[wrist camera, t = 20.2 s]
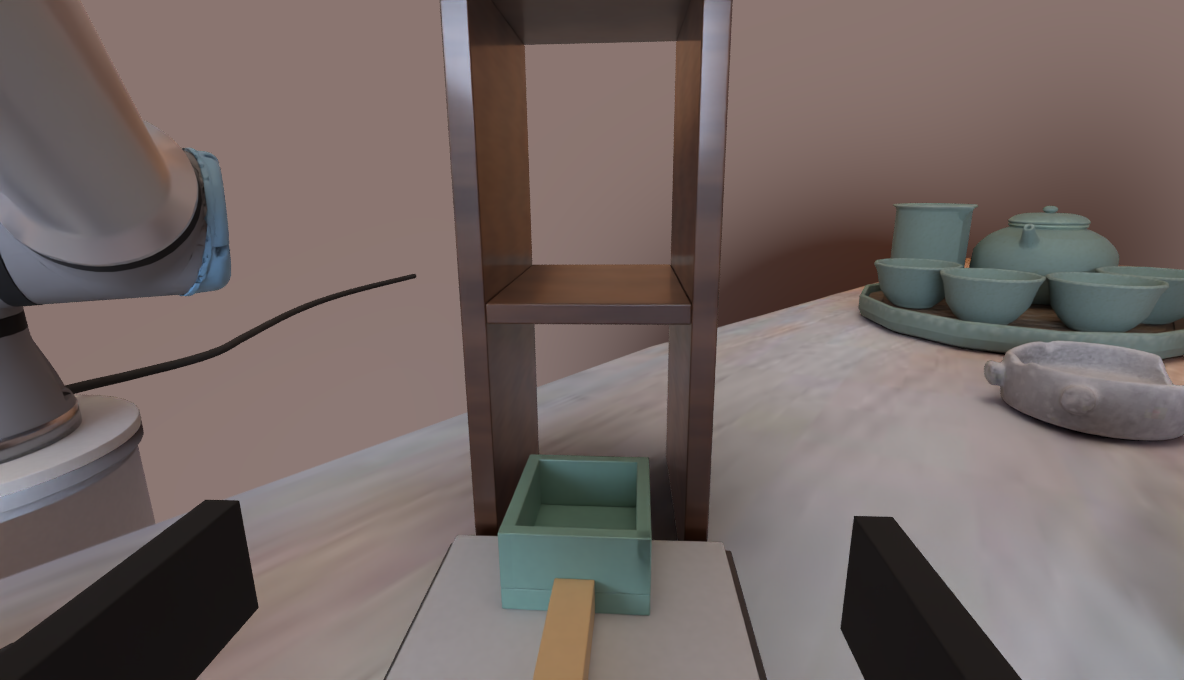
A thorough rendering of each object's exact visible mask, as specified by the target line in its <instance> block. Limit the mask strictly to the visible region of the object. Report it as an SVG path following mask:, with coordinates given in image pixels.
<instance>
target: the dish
mask: <svg viewBox="0 0 1184 680" xmlns="http://www.w3.org/2000/svg"><path fill="white" fill-rule="evenodd" d="M984 374H985V377H986V379H987V381H988V382H989V383H990V384H991V385H998V386H1000V394H1001V396H1002V399H1003V400H1004V401H1005V402H1006V403H1007V404H1009V405H1010V406H1011V407H1013V408H1015V409H1016V410H1018V411H1020V412H1023V413H1025V414H1027V415H1029V416H1032V417H1034V418H1037V419H1040V420H1042V421H1045V422H1048V423H1051V424H1054V425H1057V426H1061V427H1064V428H1067V429H1071V430H1076V431H1080V432H1084V433H1089V434H1094V435H1100V436H1106V437H1113V438H1121V439H1132V440H1167V439H1173V438H1177V437H1179V436H1182V435H1183V434H1184V385H1182V386H1180V385H1173V383H1172V381H1171V380H1170V378H1169V376H1168V374H1167V372H1166V369H1165V366H1164V364H1163V362H1162V359H1161V357H1160V356H1158V355H1156V354H1152V353H1148V352H1144V351H1139V350H1135V349H1130V348H1124V347H1119V346H1112V345H1104V344H1096V343H1085V342H1073V341H1052V342H1049V343H1045V342H1031V343H1026V344H1023V345H1020V346H1017V347H1014V348H1012V349H1010V350H1008V351H1007V352H1006V354H1005V356H1004V358H1003V360H1002V361H1001V362H995V361H988V362H987V363H986V364H985V366H984Z"/></svg>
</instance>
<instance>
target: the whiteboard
mask: <svg viewBox="0 0 1184 680" xmlns="http://www.w3.org/2000/svg"><path fill="white" fill-rule="evenodd" d="M546 615H547V611H542V610H522V609H503V608H502V601H501V585H500V568H499V550H498V536H475V535H457V536H456V538H455V540H454V542H453V543H452V544H451V545H450V547H449V549H448V551H447V553H446V555H445V557H444V559H443V561H442V563H441V565H440V567H439V569H438V571H437V573H436V575H435V577H434V579H433V581H432V583H431V585H430V587H429V589H428V591H427V593H426V595H425V597H424V599H423V601H422V603H421V605H420V607H419V609H418V611H417V613H416V615H415V617H414V619H413V621H412V623H411V625H410V627H409V629H408V631H407V633H406V635H405V637H404V639H403V642H402V644H401V646H400V648H399V650H398V652H397V654H396V656H395V658H394V660H393V662H392V664H391V666H390V668H389V670H388V672H387V674H386V676H385V678H384V680H532V679H533V675H534V670H535V666H536V661H537V656H538V652H539V647H540V643H541V638H542V633H543V629H544V624H545V620H546ZM588 680H767V678H766V674H765V671H764V667H763V664H762V660H761V656H760V653H759V649H758V646H757V642H756V639H755V635H754V632H753V628H752V624H751V621H750V617H749V614H748V610H747V607H746V603H745V600H744V596H743V592H742V589H741V585H740V582H739V578H738V575H737V571H736V568H735V564H734V561H733V557H732V553H731V551H725V548H724V544H723V542H700V541H663V540H652V548H651V600H650V615H649V616H647V615H626V614H605V613H595V617H594V627H593V636H592V646H591V656H590V665H589V675H588Z"/></svg>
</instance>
